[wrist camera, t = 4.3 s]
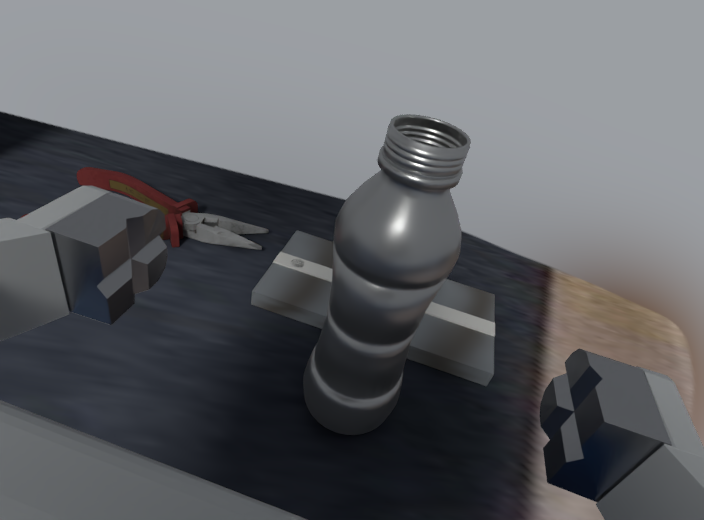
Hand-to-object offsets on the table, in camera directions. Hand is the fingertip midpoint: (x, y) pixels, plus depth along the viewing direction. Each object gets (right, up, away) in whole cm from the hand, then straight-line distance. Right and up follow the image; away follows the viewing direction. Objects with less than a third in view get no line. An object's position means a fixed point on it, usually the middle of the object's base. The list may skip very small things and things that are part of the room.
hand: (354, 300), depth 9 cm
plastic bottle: (-1, -9, +22) cm, 24 cm away
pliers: (-20, +3, +33) cm, 39 cm away
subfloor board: (+2, -3, +31) cm, 31 cm away
